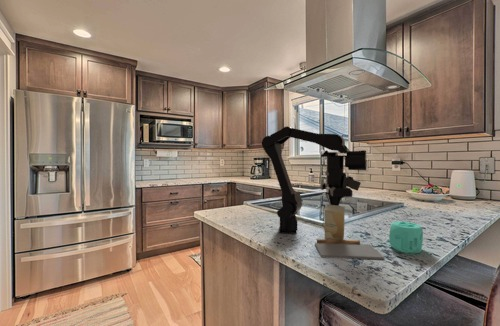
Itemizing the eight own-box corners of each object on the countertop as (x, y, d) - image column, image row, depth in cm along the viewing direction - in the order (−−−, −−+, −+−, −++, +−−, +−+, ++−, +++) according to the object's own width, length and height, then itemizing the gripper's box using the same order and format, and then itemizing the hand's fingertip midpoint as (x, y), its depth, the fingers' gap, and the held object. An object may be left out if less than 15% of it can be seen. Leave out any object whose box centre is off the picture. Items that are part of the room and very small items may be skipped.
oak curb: (317, 244, 81) (317, 239, 81) (316, 243, 82) (316, 238, 82) (359, 245, 80) (360, 241, 80) (358, 244, 81) (358, 239, 81)
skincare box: (324, 240, 85) (323, 209, 81) (326, 233, 88) (325, 203, 85) (343, 243, 82) (343, 211, 78) (345, 236, 85) (344, 205, 82)
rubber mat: (321, 257, 71) (321, 255, 71) (314, 244, 81) (314, 242, 81) (384, 259, 69) (384, 257, 69) (369, 246, 79) (369, 244, 79)
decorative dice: (388, 249, 77) (389, 224, 77) (394, 242, 83) (395, 219, 83) (418, 256, 72) (419, 229, 72) (422, 248, 78) (423, 224, 78)
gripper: (369, 171, 76) (368, 220, 76) (348, 168, 94) (348, 207, 95) (333, 171, 77) (333, 219, 77) (320, 168, 95) (319, 207, 96)
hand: (334, 212), depth 86 cm, fingers closed
